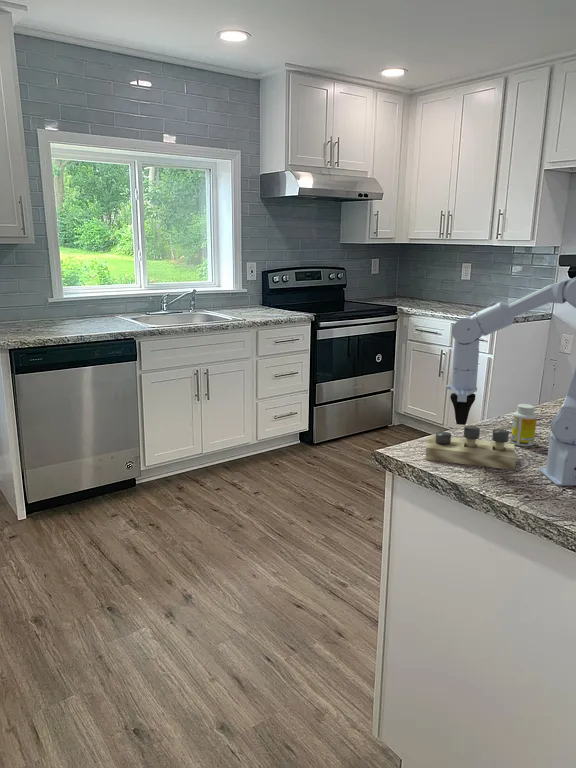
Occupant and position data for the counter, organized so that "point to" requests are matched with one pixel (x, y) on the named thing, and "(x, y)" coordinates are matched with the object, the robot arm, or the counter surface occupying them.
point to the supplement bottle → (524, 425)
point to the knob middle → (471, 435)
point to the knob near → (500, 438)
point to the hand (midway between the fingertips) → (461, 423)
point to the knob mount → (472, 453)
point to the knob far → (443, 438)
